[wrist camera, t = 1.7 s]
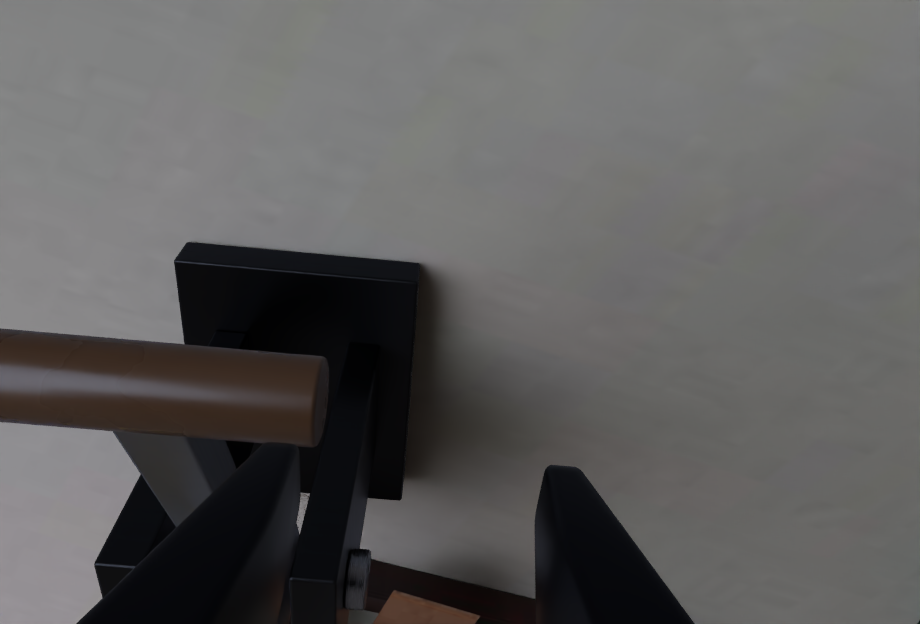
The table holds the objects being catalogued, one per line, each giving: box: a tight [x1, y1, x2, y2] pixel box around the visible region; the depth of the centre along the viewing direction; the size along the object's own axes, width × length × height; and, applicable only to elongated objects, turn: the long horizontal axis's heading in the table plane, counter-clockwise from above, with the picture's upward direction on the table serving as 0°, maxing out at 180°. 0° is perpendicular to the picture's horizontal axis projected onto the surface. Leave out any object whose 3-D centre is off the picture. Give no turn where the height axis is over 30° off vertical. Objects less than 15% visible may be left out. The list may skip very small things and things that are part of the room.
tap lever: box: [0, 328, 329, 624], centre depth 15 cm, size 11×5×2 cm, turn 175°
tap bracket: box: [94, 242, 420, 624], centre depth 21 cm, size 9×7×10 cm
